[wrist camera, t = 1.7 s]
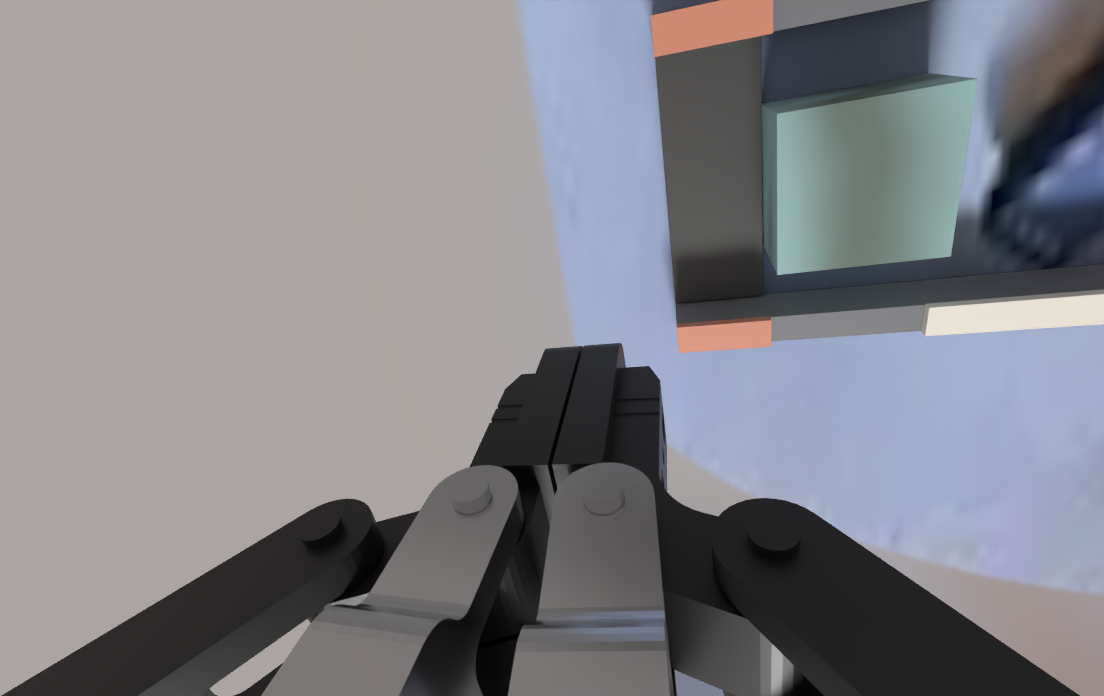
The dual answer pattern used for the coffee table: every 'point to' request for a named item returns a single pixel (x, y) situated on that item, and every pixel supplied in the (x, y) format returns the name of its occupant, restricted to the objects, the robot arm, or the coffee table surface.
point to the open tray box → (736, 206)
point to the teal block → (865, 173)
